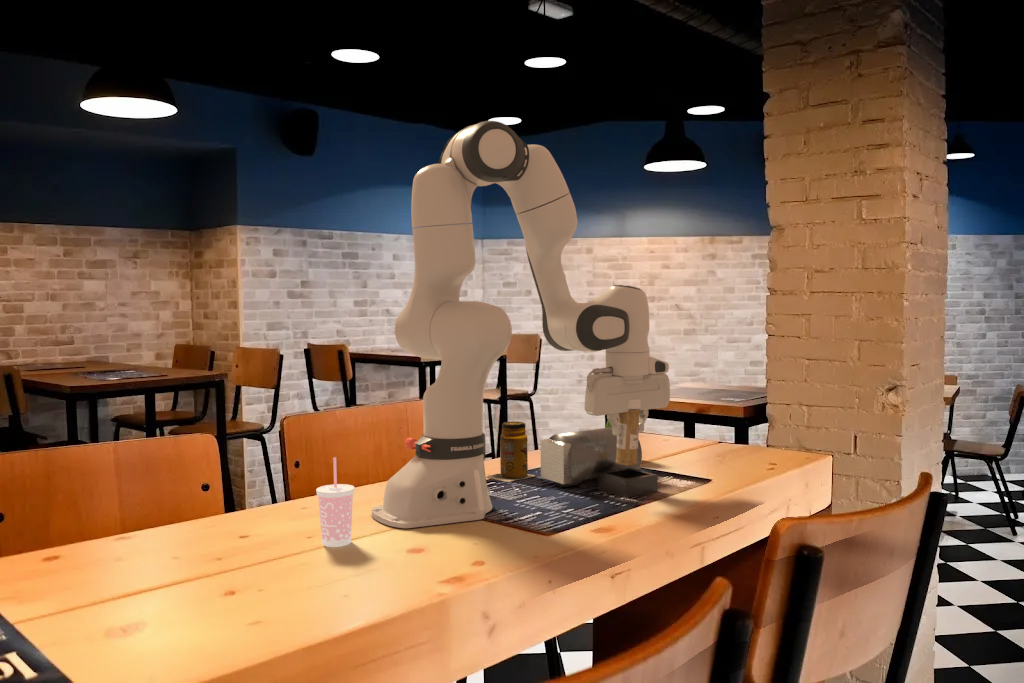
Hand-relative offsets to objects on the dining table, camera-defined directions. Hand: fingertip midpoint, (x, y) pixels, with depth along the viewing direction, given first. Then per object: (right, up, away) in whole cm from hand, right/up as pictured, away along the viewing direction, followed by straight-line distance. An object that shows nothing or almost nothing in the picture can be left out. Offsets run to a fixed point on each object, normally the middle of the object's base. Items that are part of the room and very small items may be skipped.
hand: (628, 433), depth 166 cm
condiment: (-24, -12, +15) cm, 30 cm away
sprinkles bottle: (0, -6, 0) cm, 6 cm away
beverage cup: (-52, -14, -33) cm, 63 cm away
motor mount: (-3, -12, +6) cm, 13 cm away
